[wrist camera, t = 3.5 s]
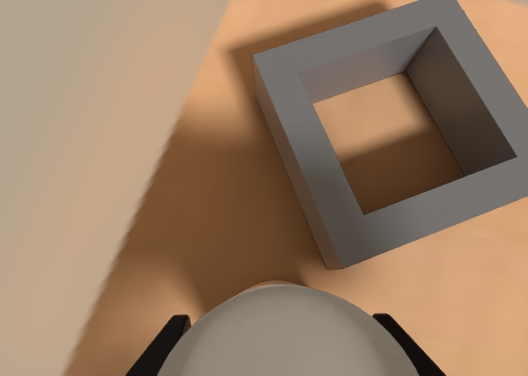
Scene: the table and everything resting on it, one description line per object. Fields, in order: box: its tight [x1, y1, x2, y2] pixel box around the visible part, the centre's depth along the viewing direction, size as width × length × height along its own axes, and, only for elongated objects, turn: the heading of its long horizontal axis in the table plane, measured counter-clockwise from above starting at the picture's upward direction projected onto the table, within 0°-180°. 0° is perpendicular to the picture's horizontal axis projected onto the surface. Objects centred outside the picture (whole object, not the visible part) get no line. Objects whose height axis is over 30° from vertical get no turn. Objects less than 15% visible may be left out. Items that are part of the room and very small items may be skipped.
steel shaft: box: [157, 280, 419, 376], centre depth 10 cm, size 5×5×10 cm
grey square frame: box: [252, 0, 528, 270], centre depth 16 cm, size 10×10×4 cm
